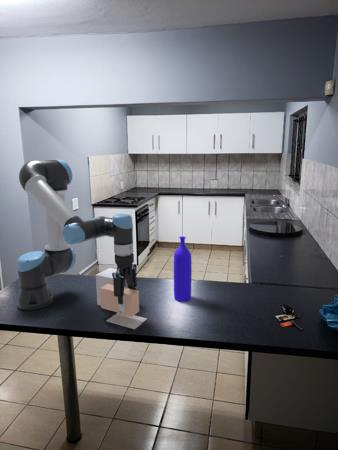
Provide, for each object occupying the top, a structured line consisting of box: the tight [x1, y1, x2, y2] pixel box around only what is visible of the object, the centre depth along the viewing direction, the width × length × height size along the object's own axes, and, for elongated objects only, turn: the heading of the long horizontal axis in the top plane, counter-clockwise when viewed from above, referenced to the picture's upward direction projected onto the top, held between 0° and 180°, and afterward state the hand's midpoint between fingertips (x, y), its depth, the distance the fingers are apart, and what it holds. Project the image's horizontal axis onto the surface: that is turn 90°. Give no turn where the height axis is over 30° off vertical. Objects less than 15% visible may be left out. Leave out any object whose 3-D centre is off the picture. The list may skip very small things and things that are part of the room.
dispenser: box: [95, 267, 128, 307], centre depth 154 cm, size 13×10×14 cm
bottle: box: [173, 236, 193, 303], centre depth 156 cm, size 8×8×30 cm
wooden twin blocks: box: [100, 284, 140, 316], centre depth 139 cm, size 16×5×9 cm, turn 61°
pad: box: [106, 312, 148, 330], centre depth 140 cm, size 14×9×1 cm, turn 61°
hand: (126, 307), depth 138 cm, fingers closed on wooden twin blocks, 5 cm apart
